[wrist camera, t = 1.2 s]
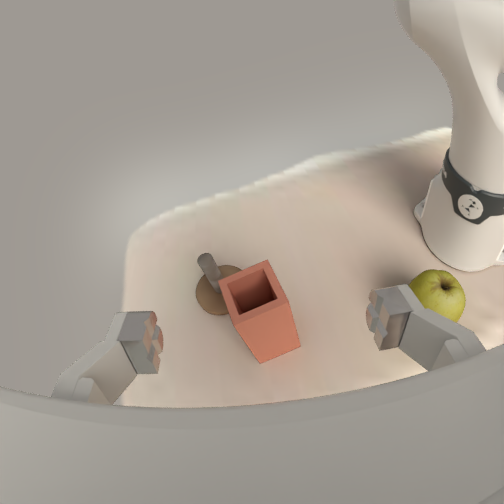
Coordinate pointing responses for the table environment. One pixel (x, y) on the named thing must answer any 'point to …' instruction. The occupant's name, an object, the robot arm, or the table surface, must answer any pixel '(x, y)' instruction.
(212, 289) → the shaft post
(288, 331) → the red square vase
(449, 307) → the apple
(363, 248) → the table surface
